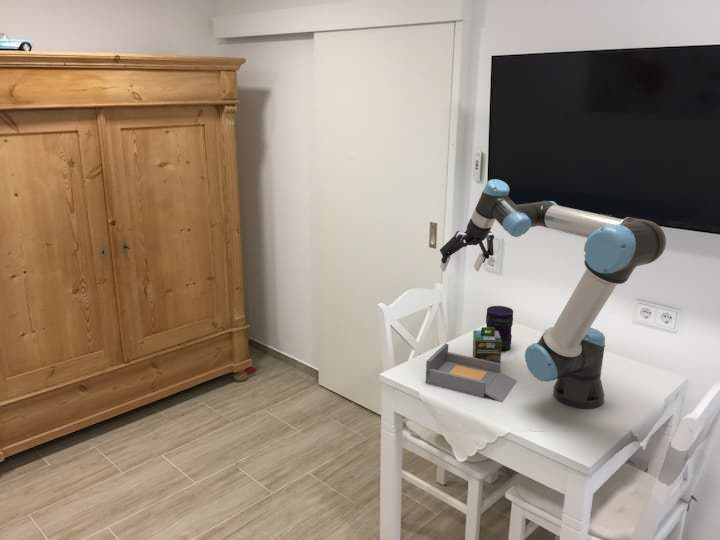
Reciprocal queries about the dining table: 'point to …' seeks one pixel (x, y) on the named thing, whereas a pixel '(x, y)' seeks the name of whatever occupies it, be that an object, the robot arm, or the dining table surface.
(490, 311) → the storage jar
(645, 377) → the dining table surface
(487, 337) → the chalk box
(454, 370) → the dock bay
